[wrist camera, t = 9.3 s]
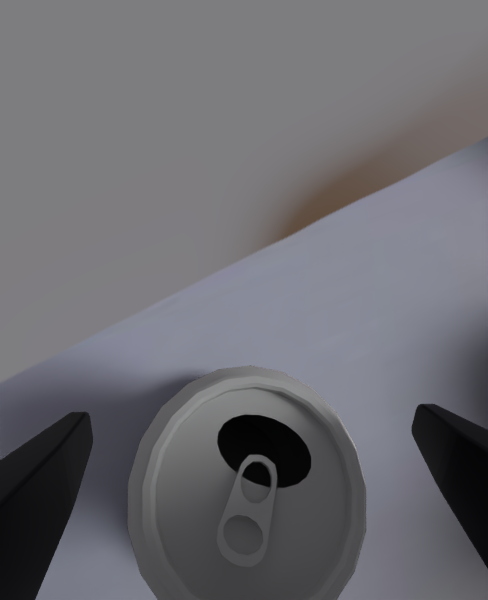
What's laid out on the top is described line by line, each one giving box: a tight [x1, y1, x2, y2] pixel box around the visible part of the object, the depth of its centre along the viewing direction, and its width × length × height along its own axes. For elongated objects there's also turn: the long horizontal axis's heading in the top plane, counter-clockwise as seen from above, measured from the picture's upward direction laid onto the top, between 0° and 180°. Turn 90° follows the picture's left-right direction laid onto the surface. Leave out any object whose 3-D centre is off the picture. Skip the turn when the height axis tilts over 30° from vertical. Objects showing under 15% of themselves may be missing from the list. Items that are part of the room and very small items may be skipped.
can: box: [127, 366, 366, 600], centre depth 14 cm, size 8×8×12 cm
